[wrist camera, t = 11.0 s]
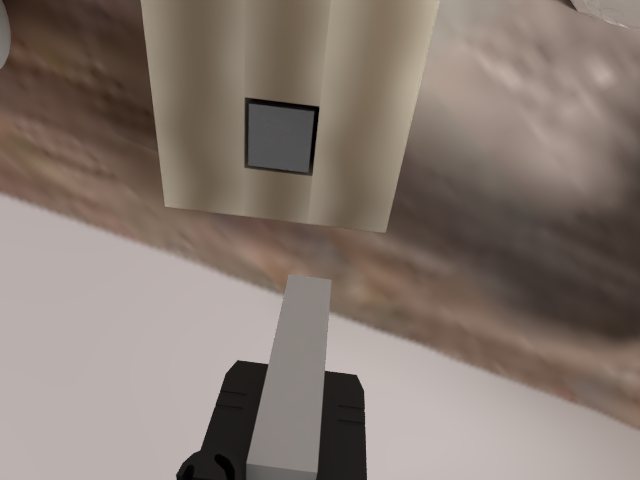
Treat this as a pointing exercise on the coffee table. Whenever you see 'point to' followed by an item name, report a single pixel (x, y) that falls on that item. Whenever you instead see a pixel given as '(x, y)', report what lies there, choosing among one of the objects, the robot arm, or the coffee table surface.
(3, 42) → the teacup
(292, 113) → the graphite peg
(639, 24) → the white cup
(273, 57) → the press block
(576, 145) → the coffee table surface
